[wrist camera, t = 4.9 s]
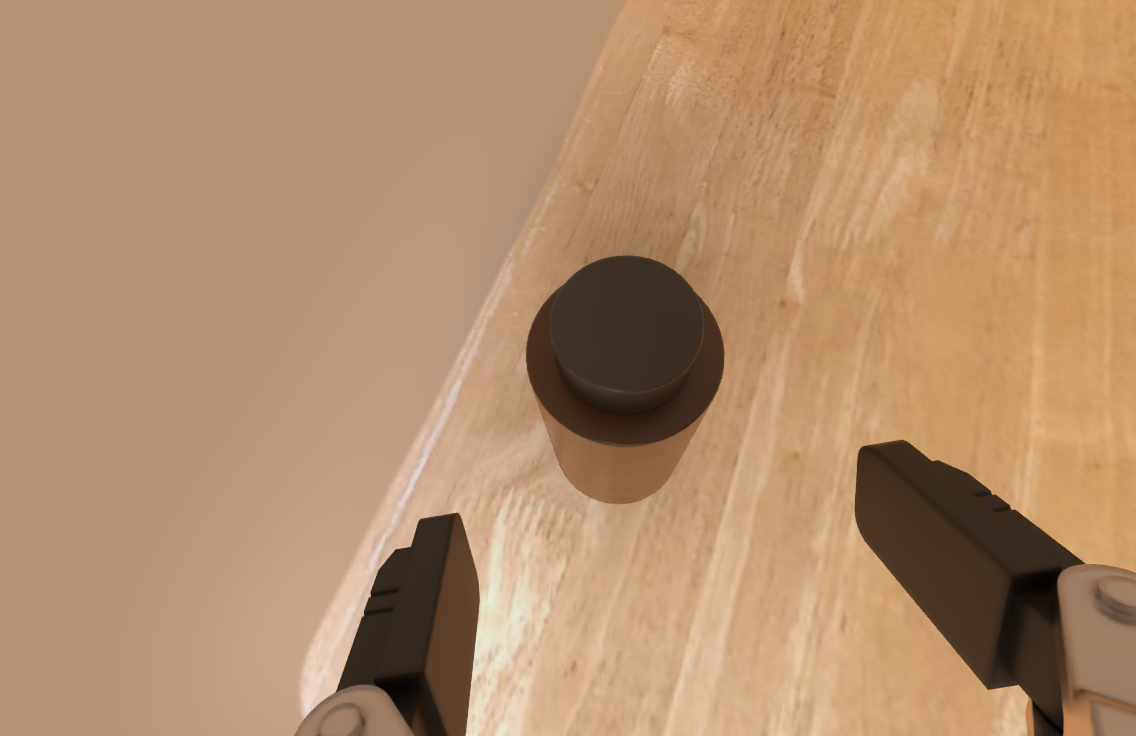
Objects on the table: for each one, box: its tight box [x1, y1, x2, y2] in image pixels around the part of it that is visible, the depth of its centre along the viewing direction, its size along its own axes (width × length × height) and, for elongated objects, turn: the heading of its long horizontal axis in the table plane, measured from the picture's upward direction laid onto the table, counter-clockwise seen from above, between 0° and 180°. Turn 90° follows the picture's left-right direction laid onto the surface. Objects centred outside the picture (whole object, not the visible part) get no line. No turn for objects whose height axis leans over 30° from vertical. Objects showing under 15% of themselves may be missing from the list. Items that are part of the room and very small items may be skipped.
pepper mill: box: [526, 256, 724, 504], centre depth 16 cm, size 5×5×10 cm
